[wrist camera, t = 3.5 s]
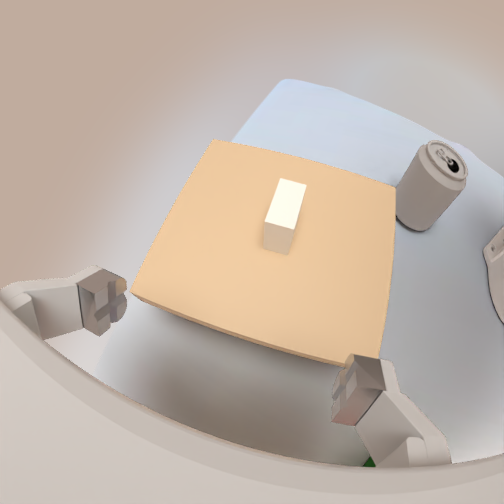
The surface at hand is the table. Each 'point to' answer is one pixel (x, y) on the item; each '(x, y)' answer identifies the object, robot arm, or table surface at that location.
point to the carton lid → (277, 253)
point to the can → (430, 185)
